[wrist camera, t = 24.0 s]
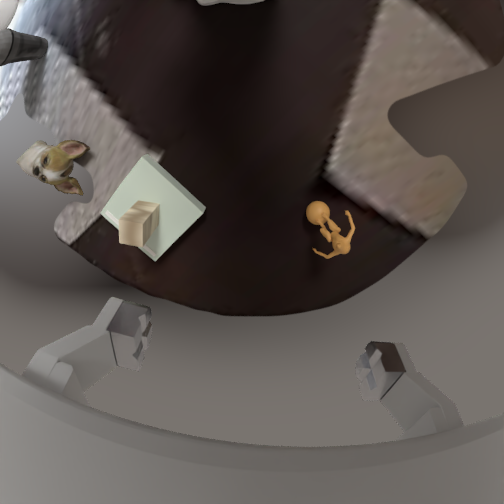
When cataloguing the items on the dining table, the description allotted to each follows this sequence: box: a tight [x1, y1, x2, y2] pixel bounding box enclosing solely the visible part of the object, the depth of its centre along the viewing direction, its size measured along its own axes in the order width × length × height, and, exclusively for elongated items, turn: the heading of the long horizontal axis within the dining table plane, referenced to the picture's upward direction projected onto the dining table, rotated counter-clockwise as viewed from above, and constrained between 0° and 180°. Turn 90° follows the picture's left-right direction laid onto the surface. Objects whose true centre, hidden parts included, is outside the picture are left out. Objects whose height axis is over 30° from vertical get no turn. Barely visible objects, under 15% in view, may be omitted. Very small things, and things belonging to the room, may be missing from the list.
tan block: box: [119, 200, 160, 247], centre depth 43 cm, size 4×4×8 cm
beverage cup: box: [0, 29, 48, 66], centre depth 23 cm, size 7×7×20 cm
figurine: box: [306, 201, 355, 259], centre depth 44 cm, size 8×6×12 cm
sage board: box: [101, 154, 206, 261], centre depth 48 cm, size 14×14×3 cm
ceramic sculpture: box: [17, 140, 90, 195], centre depth 41 cm, size 11×9×15 cm
